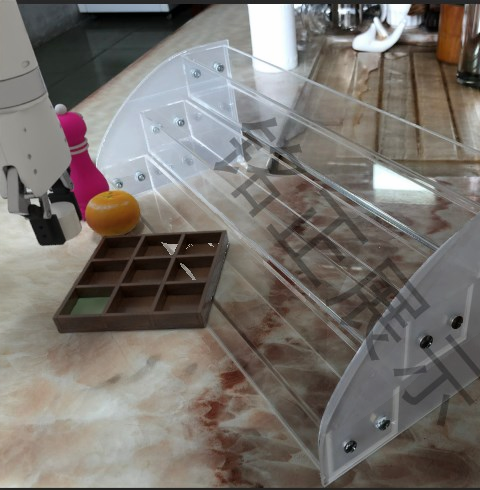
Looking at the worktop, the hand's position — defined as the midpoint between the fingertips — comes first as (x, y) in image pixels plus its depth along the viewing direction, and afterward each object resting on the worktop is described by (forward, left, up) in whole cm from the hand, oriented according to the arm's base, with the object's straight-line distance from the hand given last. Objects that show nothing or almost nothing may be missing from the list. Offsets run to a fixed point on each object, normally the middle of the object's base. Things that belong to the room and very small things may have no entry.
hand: (61, 230), depth 74 cm
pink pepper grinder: (-11, +29, -14) cm, 34 cm away
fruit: (-4, +22, -14) cm, 27 cm away
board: (+6, +7, -14) cm, 17 cm away
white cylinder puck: (0, 0, 0) cm, 0 cm away
